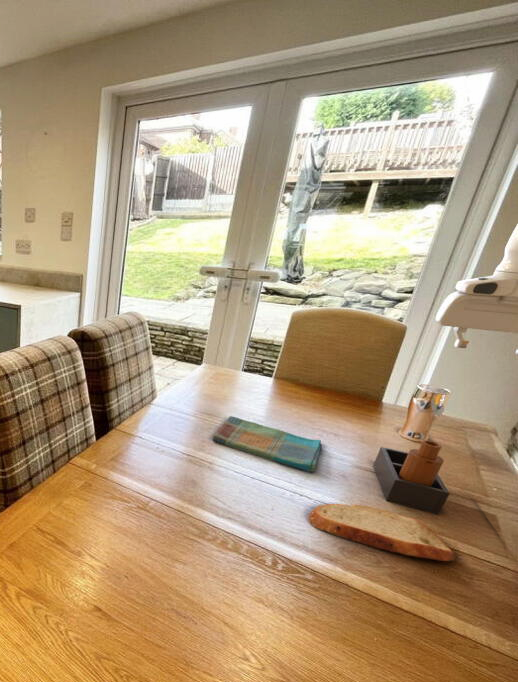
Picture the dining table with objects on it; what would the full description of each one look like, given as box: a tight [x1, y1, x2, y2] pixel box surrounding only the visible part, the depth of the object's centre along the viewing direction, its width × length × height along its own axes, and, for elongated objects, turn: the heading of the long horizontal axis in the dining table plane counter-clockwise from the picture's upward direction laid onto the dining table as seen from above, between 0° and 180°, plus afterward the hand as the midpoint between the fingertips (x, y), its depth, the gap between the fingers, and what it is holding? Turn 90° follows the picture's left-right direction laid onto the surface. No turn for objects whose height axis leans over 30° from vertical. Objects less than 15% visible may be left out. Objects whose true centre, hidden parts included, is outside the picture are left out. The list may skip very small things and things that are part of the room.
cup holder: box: [372, 446, 450, 516], centre depth 90 cm, size 8×16×6 cm, turn 147°
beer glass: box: [398, 384, 452, 443], centre depth 110 cm, size 7×7×15 cm
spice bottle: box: [398, 439, 445, 487], centre depth 85 cm, size 5×5×13 cm
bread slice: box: [307, 503, 455, 562], centre depth 76 cm, size 18×18×4 cm
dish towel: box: [212, 415, 323, 473], centre depth 108 cm, size 17×23×2 cm
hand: (489, 350), depth 86 cm, fingers open, 8 cm apart
